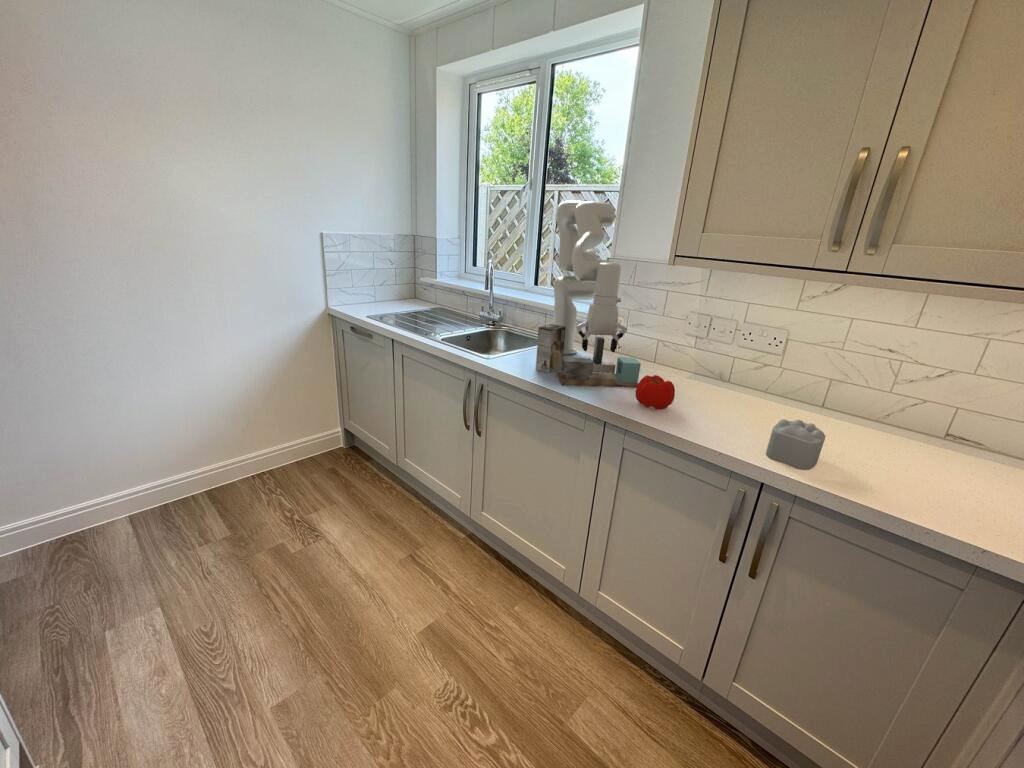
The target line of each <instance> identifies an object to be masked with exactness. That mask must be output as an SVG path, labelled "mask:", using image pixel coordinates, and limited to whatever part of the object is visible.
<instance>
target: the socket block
mask: <svg viewBox="0 0 1024 768" xmlns="http://www.w3.org/2000/svg"><path fill="white" fill-rule="evenodd" d="M616 361H617V362H616V366H615V373H614V374H615V376H616V377H617V378H618V380H619V381H620V382H628V383H639V379H640V378H639V377H640V372H641V362H640V361H639V360H637V359H636V357H628V356H627V357H625V356H623V357H622V356H618V357H617V360H616Z"/></svg>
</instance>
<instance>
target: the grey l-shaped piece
mask: <svg viewBox="0 0 1024 768" xmlns="http://www.w3.org/2000/svg"><path fill="white" fill-rule="evenodd" d="M605 341H606V339H605V338H604V336H595V339H594V347H593V348H594V349H593V355H592V356H593V357H592V361H593V362H594V365H593V373H614V374H616V367H617V364H616V363H614V362H613V361H611V362H609V361H603V355H604V348H605Z"/></svg>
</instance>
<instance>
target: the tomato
mask: <svg viewBox="0 0 1024 768" xmlns="http://www.w3.org/2000/svg"><path fill="white" fill-rule="evenodd" d="M675 393H676V389H675V385H674V384H673V382H672V381H670V380H666V381H665V379H664V378H663V377H661V376H660V375H656V374H654V375H645V376H643V377H642V378H641V379H640V380H639V381H638V385H637V388H635V398H636V400H637V402H638V403H639V404H640V405H642V406H643V407H645V408H653V409H655V410H658V411H661V410H665V409H667V408H668V407H670V405H672V404H673V402H674V400H675V396H676V394H675Z"/></svg>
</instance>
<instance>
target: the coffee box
mask: <svg viewBox="0 0 1024 768" xmlns="http://www.w3.org/2000/svg"><path fill="white" fill-rule="evenodd" d="M565 329H566V327H565V326H559V325H554V324H553V323H551V324H546V325H543V326H539V327H538V332H537V347H536V361H535V370H537V369H538V370H537V371H540V370H542V371H541V372H544V371H545V373H548V372H549V373H548V374H550V373H553V372H555V371H558V370H559V369H561V368H562V358H563V357H564V354H563V351H564V340H565ZM552 371H553V372H552Z"/></svg>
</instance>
